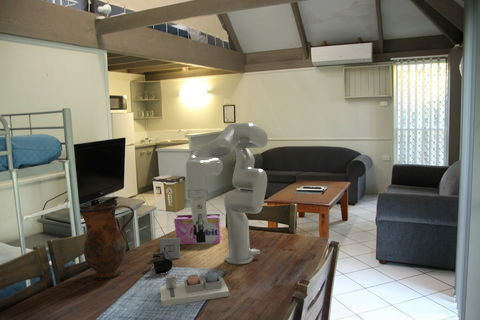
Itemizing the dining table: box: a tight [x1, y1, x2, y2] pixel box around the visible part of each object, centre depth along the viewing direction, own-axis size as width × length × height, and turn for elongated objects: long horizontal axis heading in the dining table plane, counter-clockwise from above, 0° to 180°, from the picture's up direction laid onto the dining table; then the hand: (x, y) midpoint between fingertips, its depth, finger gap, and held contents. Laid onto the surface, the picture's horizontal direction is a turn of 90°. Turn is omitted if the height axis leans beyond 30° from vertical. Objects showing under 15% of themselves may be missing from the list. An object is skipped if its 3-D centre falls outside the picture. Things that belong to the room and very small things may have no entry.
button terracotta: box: [187, 274, 200, 285], centre depth 141 cm, size 4×4×2 cm
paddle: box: [165, 274, 177, 289], centre depth 142 cm, size 4×2×4 cm, turn 104°
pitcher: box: [79, 202, 135, 281], centre depth 161 cm, size 17×21×30 cm
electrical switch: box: [159, 237, 181, 260], centre depth 180 cm, size 9×5×9 cm, turn 90°
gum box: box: [173, 213, 222, 245], centre depth 200 cm, size 24×8×14 cm, turn 88°
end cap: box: [152, 251, 173, 275], centre depth 165 cm, size 10×7×7 cm
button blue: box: [206, 271, 218, 283], centre depth 143 cm, size 4×4×2 cm
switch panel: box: [159, 274, 230, 307], centre depth 141 cm, size 24×12×4 cm, turn 104°
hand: (199, 238), depth 143 cm, fingers open, 9 cm apart
